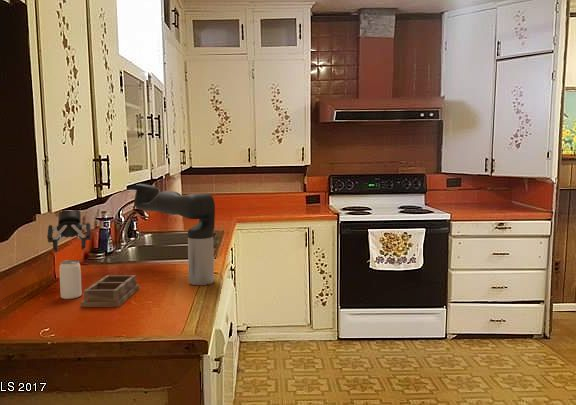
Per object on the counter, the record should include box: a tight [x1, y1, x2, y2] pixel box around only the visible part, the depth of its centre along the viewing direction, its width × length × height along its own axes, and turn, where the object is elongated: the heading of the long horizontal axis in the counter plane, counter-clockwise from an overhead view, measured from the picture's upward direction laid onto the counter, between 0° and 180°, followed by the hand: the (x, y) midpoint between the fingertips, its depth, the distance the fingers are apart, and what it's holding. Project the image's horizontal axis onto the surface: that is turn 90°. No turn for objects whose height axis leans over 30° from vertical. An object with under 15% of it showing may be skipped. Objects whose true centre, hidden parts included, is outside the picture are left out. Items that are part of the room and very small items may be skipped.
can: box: [58, 259, 83, 300], centre depth 162 cm, size 6×6×12 cm
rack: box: [80, 274, 140, 308], centre depth 162 cm, size 21×12×5 cm, turn 1°
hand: (69, 249), depth 171 cm, fingers open, 8 cm apart
